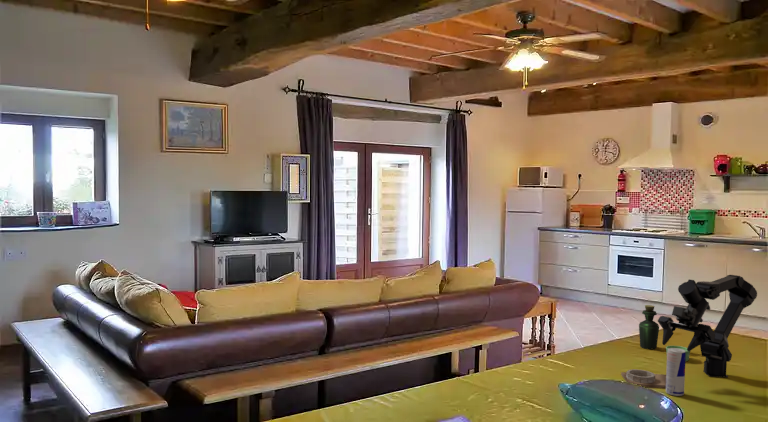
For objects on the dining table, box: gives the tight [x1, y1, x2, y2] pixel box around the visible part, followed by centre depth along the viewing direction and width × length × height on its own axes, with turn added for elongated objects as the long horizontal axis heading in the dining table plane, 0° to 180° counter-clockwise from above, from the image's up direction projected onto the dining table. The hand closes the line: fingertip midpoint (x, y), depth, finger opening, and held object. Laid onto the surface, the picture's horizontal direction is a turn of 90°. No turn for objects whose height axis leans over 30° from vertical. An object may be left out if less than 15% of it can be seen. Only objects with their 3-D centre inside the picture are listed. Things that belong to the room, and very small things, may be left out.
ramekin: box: [665, 345, 691, 362], centre depth 253 cm, size 9×9×4 cm
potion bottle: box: [638, 304, 660, 350], centre depth 270 cm, size 8×8×18 cm
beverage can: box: [665, 348, 686, 397], centre depth 211 cm, size 6×6×15 cm
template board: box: [620, 368, 666, 389], centre depth 223 cm, size 16×13×3 cm
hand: (675, 347), depth 218 cm, fingers open, 9 cm apart
